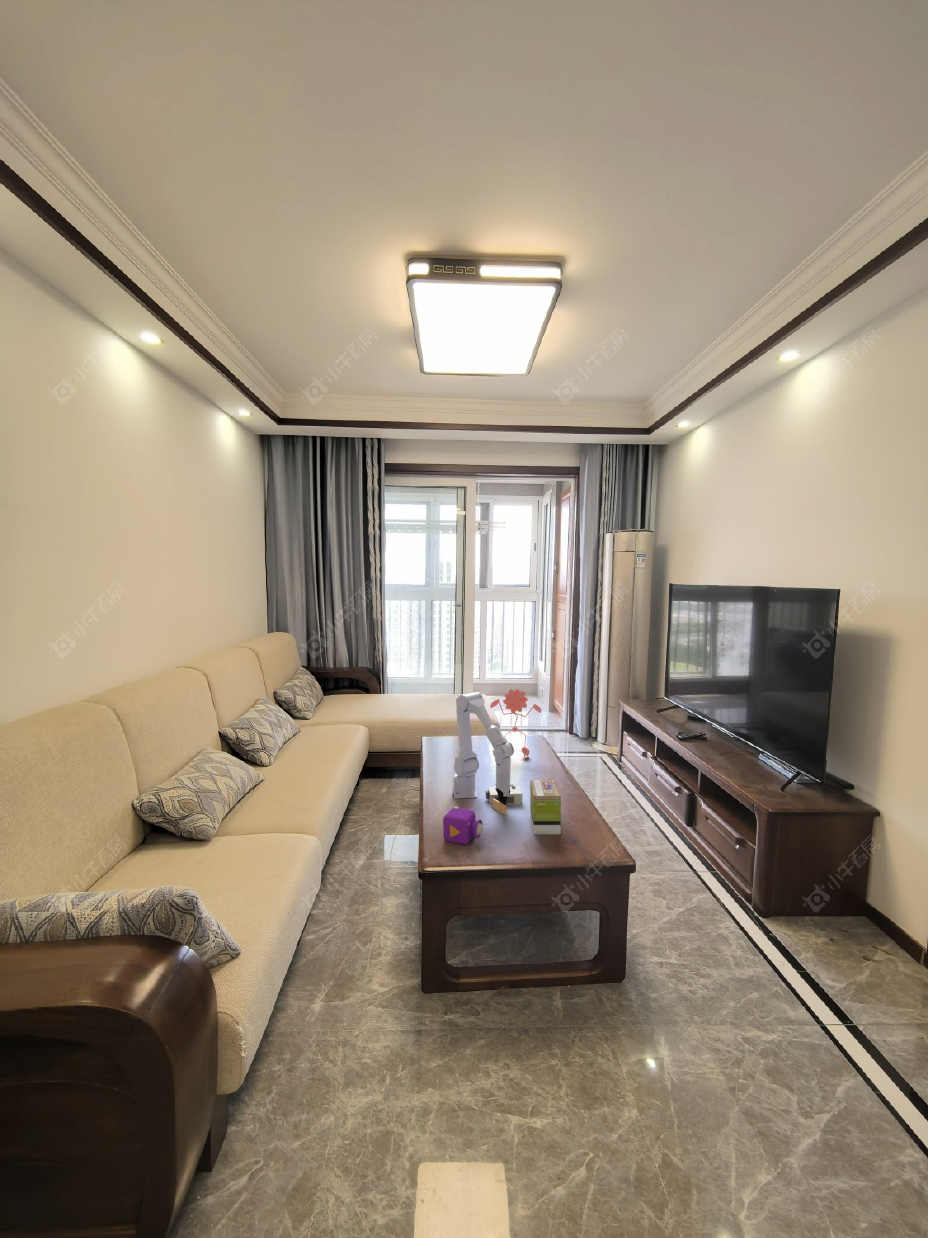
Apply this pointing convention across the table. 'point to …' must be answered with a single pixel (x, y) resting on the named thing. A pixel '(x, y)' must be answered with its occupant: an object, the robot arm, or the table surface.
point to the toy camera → (461, 826)
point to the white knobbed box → (512, 799)
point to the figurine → (516, 709)
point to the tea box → (545, 807)
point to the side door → (498, 806)
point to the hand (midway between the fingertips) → (502, 806)
